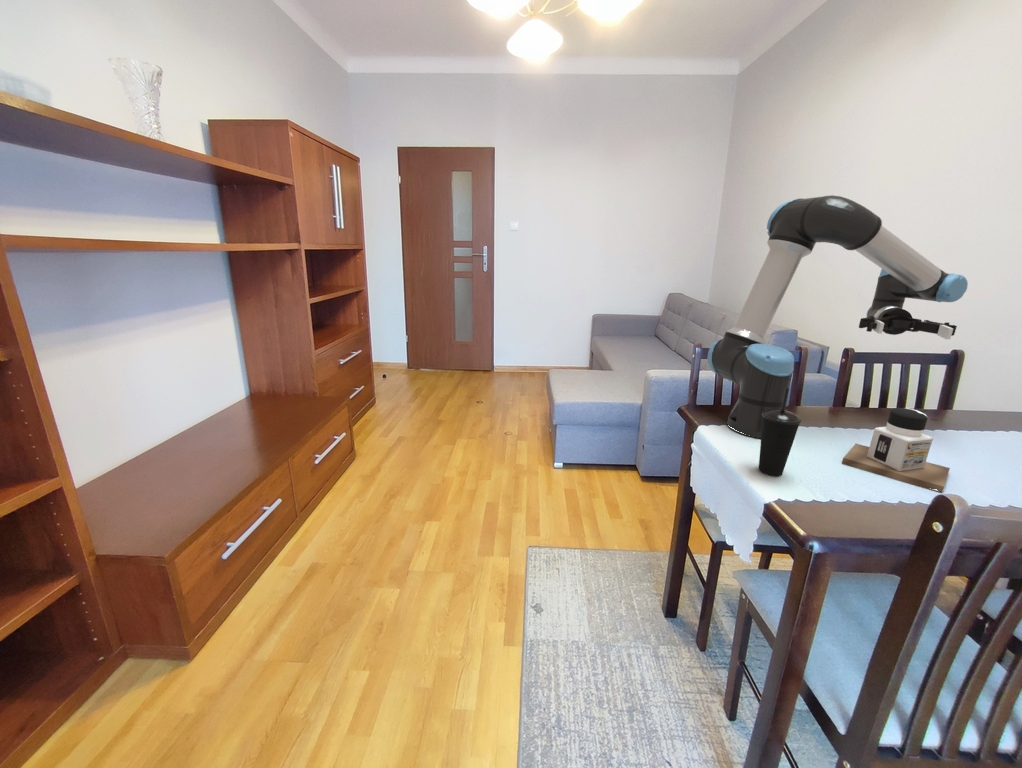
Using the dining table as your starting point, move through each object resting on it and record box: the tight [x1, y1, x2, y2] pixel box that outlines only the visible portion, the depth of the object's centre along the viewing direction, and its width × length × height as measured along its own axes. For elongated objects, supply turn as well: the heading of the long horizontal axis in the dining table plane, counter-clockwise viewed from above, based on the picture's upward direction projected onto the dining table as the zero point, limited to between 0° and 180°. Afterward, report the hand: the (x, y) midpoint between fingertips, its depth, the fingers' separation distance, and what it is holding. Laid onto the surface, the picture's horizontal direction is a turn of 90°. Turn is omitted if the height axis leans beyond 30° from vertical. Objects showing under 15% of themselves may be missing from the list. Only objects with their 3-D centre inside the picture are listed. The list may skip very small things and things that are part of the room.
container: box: [867, 407, 934, 471], centre depth 106 cm, size 8×8×13 cm
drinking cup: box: [758, 387, 803, 478], centre depth 102 cm, size 8×8×20 cm
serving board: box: [841, 443, 951, 494], centre depth 108 cm, size 18×13×2 cm
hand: (914, 331), depth 115 cm, fingers open, 13 cm apart
